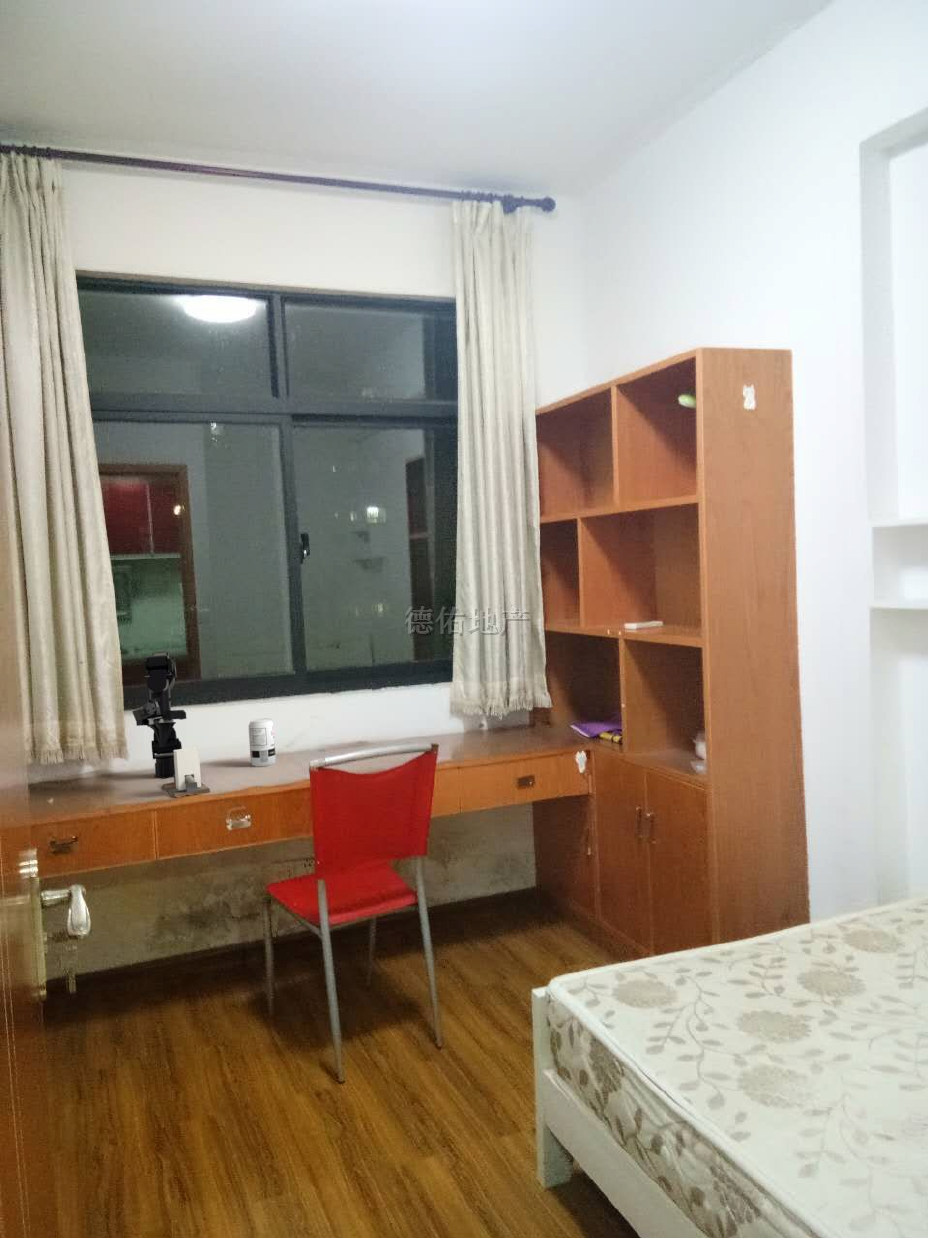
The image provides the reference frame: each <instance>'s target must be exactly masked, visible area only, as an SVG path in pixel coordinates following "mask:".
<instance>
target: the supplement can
mask: <svg viewBox="0 0 928 1238" xmlns="http://www.w3.org/2000/svg"><path fill="white" fill-rule="evenodd" d="M247 726H248V739H249V740H248V742H249V754H250V764H251V765H252V766H253V767H258V768H259V767H260V768H261V767H268V766H272V765H274V764H275V763H276V762H277V758H276V740H275V728H274V727H275V725H274V722H273V720H272V719H271V718H257V719H252V720H250V721H249V724H248V725H247Z"/></svg>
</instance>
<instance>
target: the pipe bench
mask: <svg viewBox="0 0 928 1238" xmlns="http://www.w3.org/2000/svg"><path fill="white" fill-rule="evenodd" d="M184 776H185V782H188V783H186V790H180V791H179V790H178V789H177V788H176V779H175V774H174V776H173V781H172V782H167V783H162V788H163V789H164V790H165V791H166V790H167V791H166V792H168V793H169V794H170V795H171V796H172V797H173V796H174V798H175V797H177V796H184V795H189V794H196V795H198V794H197V793H201V794H206V793H210V790H211V788H209V787H208V786H206V785H205V784H203V783H202V782H201V787H197V782H195V779H194V778H193V777H192V776H191V774H190V775H184ZM184 797H185V796H184Z"/></svg>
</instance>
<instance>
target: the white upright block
mask: <svg viewBox="0 0 928 1238" xmlns="http://www.w3.org/2000/svg"><path fill="white" fill-rule="evenodd" d="M173 751H174V765H175V779H176V788H177V789H178V790H179V791H180V790H186V783H188V782H185V776H184V775H191V776H192V777H193V778H194V779H195V782H197V787H201V783H202V779H201V764H200V763H201V762H200V749H199V748H198V747H196V746H194V747H187V748H186V747H185V748H182V749H178V750H173Z"/></svg>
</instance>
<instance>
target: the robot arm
mask: <svg viewBox="0 0 928 1238" xmlns="http://www.w3.org/2000/svg"><path fill="white" fill-rule="evenodd" d="M143 665H144V667H143V668H144V670H143V671H144V672H143V673H144V676H143V677H145V678H147V677H148V678H147V680H146V686H147V688H148V690H149V699H147V700H146V703H145V704H143V705H142V706H140V707H138V708H137V709H134V710H132V711H131V713H132V714H133V717H134V720H135V721H136V722H135V723H136V726H137V727H140V726H147V728H148V727H149V728H150V729H151V730H153V740H151V741H150V742H151V752H152V753H151V755H152V760H155V762H154V771H155V774H153V775H154V778H155V777H156V778H161V779H167V778H171V777H174V774H175V765H174V751H173V750H178V749H183V748H182V746H183V745H182V741H180V739H179V737H178V736H177V731H176V730H175V728H174V726H175V724H177V722H176V721H174V720H187V712H186V711H185V710H184V709H173V710H172V707H171V702H173V700H174V698H173V697H171V690H172V689H173V688H174V686H175V678H177V669H176V662H175V660H174V659H172V658H171V657H170V654H169V651H154V652H152V655H147V656H146V659H144V664H143Z"/></svg>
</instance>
